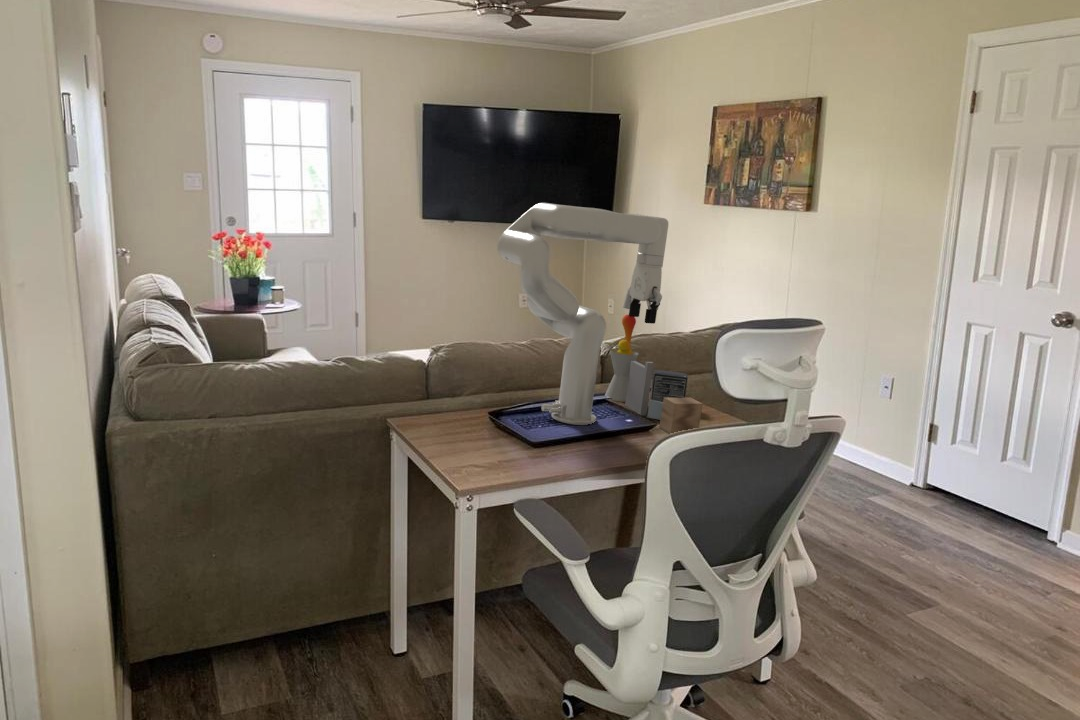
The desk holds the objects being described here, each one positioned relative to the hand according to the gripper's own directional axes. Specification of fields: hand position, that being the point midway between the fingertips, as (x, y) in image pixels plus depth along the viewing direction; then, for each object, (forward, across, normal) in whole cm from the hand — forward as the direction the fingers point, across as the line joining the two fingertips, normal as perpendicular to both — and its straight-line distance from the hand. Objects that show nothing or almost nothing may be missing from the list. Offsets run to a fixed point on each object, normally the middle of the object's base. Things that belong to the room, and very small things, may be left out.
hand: (641, 319), depth 234 cm
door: (+28, +9, +10) cm, 31 cm away
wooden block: (+28, +16, +7) cm, 34 cm away
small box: (+29, -9, +18) cm, 35 cm away
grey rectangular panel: (+28, -3, +4) cm, 29 cm away
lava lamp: (+28, -17, +5) cm, 34 cm away
